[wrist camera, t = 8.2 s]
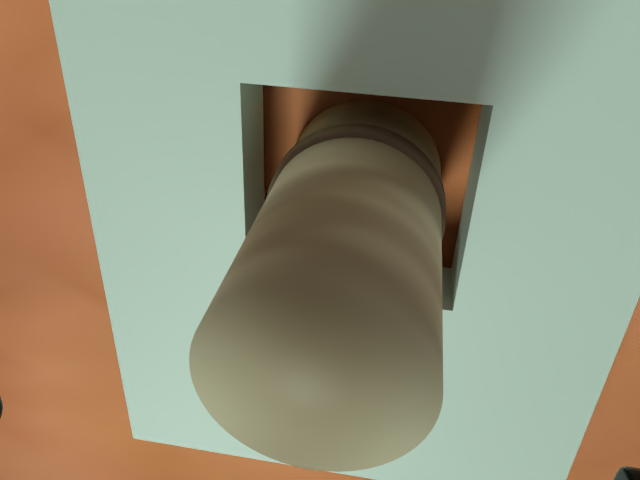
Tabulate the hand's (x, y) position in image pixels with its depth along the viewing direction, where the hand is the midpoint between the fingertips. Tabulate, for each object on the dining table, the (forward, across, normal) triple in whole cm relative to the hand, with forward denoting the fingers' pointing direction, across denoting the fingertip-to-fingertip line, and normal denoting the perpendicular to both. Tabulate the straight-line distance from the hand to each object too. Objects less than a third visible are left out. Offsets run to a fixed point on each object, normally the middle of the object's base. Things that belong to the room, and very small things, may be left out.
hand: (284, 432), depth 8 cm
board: (+9, 0, +2) cm, 9 cm away
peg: (+9, 0, 0) cm, 9 cm away
